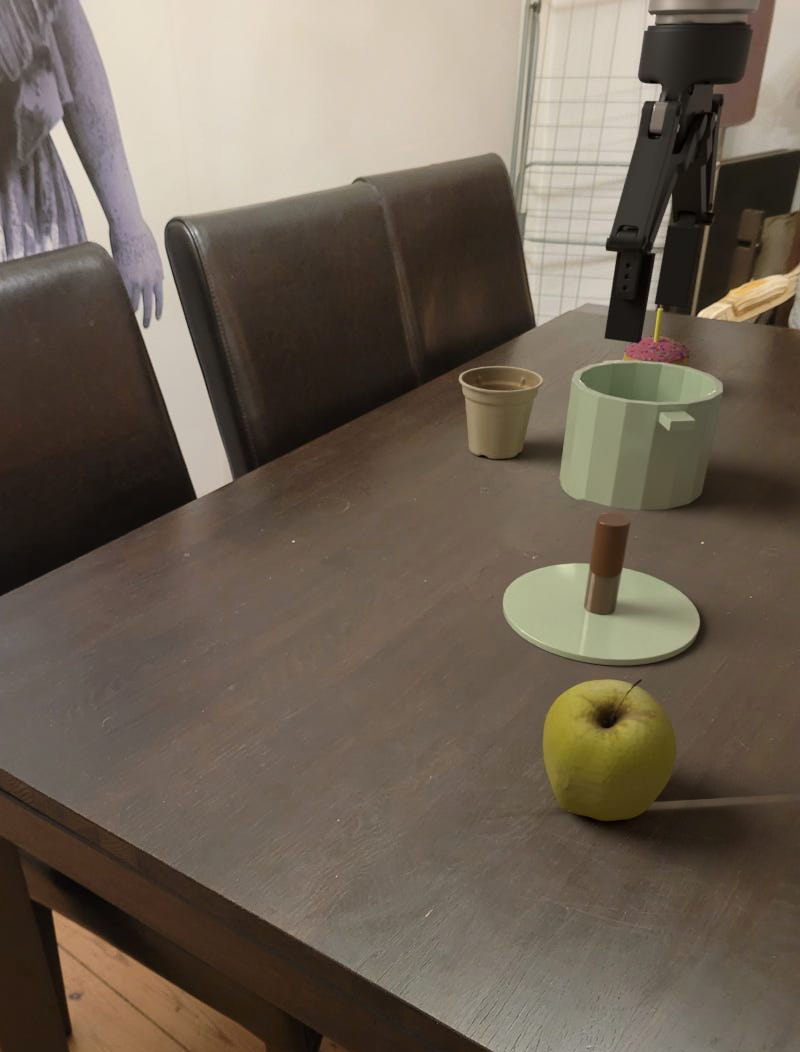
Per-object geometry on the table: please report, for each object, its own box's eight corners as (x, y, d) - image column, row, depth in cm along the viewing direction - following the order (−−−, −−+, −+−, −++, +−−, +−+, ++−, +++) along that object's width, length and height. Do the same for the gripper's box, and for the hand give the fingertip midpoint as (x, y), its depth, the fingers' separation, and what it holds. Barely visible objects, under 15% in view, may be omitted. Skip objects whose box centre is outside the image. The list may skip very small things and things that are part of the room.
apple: (590, 725, 66) (644, 627, 59) (666, 817, 61) (735, 724, 54) (497, 761, 63) (541, 663, 55) (570, 861, 58) (629, 769, 51)
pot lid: (655, 570, 87) (674, 476, 82) (730, 667, 74) (757, 560, 69) (484, 578, 86) (492, 483, 81) (527, 677, 73) (540, 570, 68)
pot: (661, 450, 112) (679, 351, 106) (735, 522, 95) (761, 410, 89) (538, 455, 111) (549, 356, 105) (590, 529, 94) (607, 416, 88)
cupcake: (673, 403, 126) (691, 310, 120) (609, 394, 130) (623, 302, 123) (689, 386, 132) (707, 296, 126) (628, 377, 136) (642, 289, 130)
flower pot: (491, 471, 107) (498, 396, 103) (438, 447, 114) (442, 375, 109) (552, 453, 112) (561, 380, 107) (497, 431, 118) (503, 361, 114)
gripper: (692, 22, 80) (647, 288, 91) (590, 19, 62) (550, 349, 73) (788, 21, 76) (729, 297, 87) (709, 17, 58) (648, 364, 70)
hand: (648, 322), depth 80 cm, fingers open, 13 cm apart
